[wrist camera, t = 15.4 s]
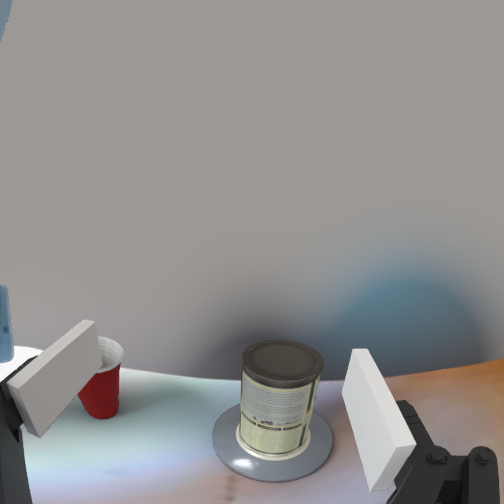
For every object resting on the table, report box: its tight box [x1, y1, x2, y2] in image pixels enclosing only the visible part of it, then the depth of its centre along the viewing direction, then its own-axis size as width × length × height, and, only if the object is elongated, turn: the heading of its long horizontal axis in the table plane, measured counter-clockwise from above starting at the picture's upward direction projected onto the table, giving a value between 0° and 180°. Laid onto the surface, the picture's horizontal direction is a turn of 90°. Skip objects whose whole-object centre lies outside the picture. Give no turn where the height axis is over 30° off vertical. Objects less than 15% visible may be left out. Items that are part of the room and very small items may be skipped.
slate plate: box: [213, 404, 333, 483], centre depth 39 cm, size 18×18×1 cm
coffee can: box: [239, 340, 323, 457], centre depth 38 cm, size 10×10×14 cm
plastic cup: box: [77, 336, 124, 419], centre depth 40 cm, size 11×11×12 cm
